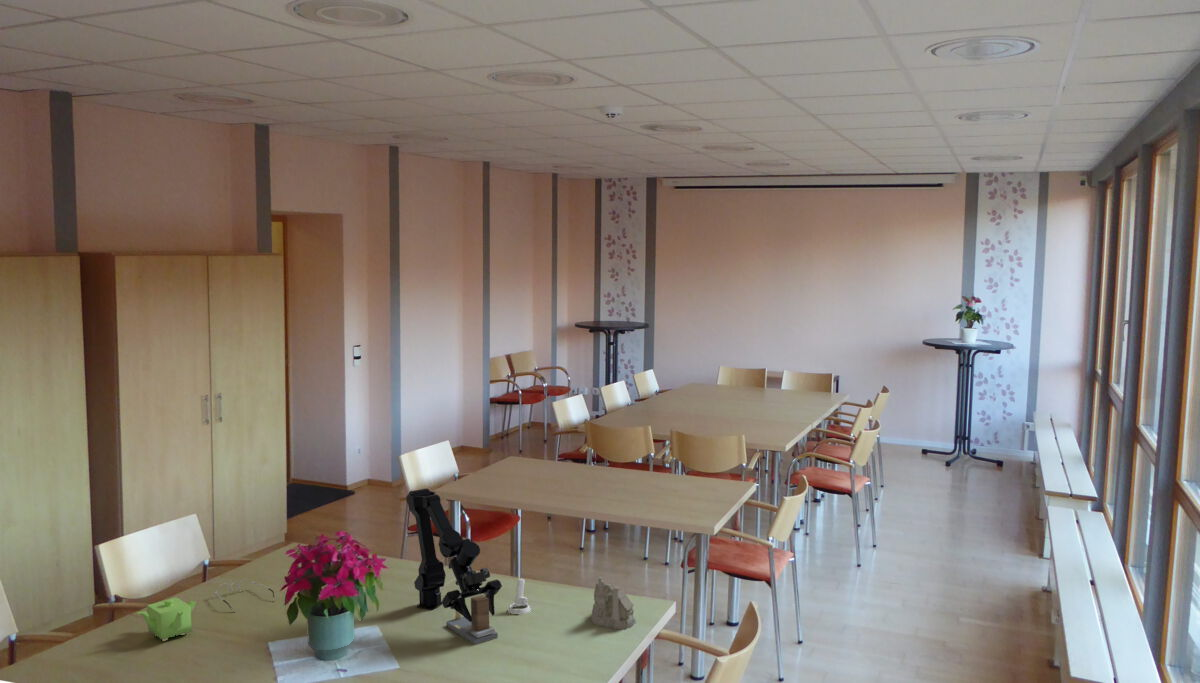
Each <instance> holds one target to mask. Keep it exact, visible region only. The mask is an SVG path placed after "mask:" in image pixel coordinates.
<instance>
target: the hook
mask: <svg viewBox="0 0 1200 683" xmlns="http://www.w3.org/2000/svg"><path fill="white" fill-rule="evenodd" d="M525 582H526V580H525V579H524V578H518V579H517V584H516V592H515V598H514V602H513V603H511V604H510V605H509V607H508V609H507V613H508V612H509V613H508V614H510V613H511V614H510V615H513V614H524V613H527V612H529V611H530V610H531V611H532V609H531V606H530V605H529V604H528V598H527V597H526V596H524V589H525ZM516 606H525V607H523V608H521V609H520V608H519V609H517V607H516ZM513 607H514V608H513ZM531 611H530V612H531ZM530 612H529V613H530ZM527 614H528V613H527ZM524 615H525V614H524Z"/></svg>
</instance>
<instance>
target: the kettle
mask: <svg viewBox="0 0 1200 683" xmlns="http://www.w3.org/2000/svg"><path fill="white" fill-rule="evenodd" d="M196 603H197V602H196V601H191V600H190V602H189V603H187V602H185V601H183V600H181V599H180V598H178V597H172V598H168V599H165V600H160V601H157V602H154V603H150V604H147V605H146V610H147V611H145V610H142V611H138V612H136V614H137V615H141V616H143V618H144V620H145V623H146V626H147V631H148V630H149V631H148V632H150V633H151V632H152V633H151V634H152V635H154V634H155V635H156V636H157V637H156V638H159V639H160V640H161V639H165V638H169V637H170V638H173V637H176V636H179V634H182V633H186V634H187V633H189V632H192V630H193V628H192V612H193V609H194V607H195V605H196ZM175 635H176V636H175ZM170 638H169V639H170Z"/></svg>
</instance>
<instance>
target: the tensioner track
mask: <svg viewBox="0 0 1200 683" xmlns="http://www.w3.org/2000/svg"><path fill="white" fill-rule="evenodd" d="M445 626H446V627H447V626H448V627H447V628H449V629H450V628H451V629H450V630H452V631H453V630H454V631H453V632H455V633H457V634H458V633H459V634H458V635H459V636H461V635H462V636H461V637H463V638H464V637H465V638H464V639H466V640H467V639H468V640H467V641H469V640H470V641H471V643H472V644H474V645H477V643H478V644H481V643H484V642H483V641H485V642H487V641H486V640H488V641H490V639H491V640H493V638H495V639H497V638H496V637H498V636H499V634H498V632H496V631H495V633H492V634H489V635H486V636H482V637H479V638H477V637H476V636H474V635H472V634H471V633H469V632H468V631H466V627H467V626H471V622H469V621H468V620H467V619H466V618H465V617H464V616H462V615H461V614H460V613H459V612H457V611H456V610H455V618H454V619H451V620H450V619H449V620H447V621H446V625H445ZM470 641H469V642H470ZM480 642H481V643H480Z"/></svg>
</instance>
